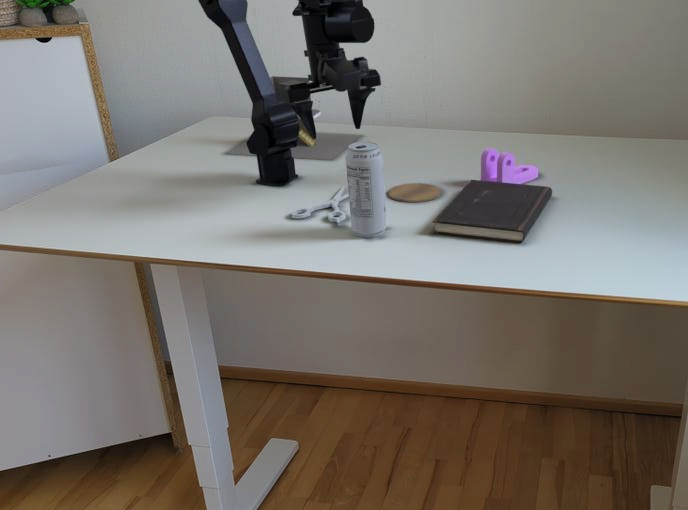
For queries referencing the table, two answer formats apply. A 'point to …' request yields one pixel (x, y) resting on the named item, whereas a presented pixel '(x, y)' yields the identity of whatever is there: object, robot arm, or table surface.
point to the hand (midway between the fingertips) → (336, 133)
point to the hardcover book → (493, 211)
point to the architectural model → (308, 136)
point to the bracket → (504, 168)
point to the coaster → (414, 192)
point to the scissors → (329, 203)
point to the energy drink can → (366, 189)
